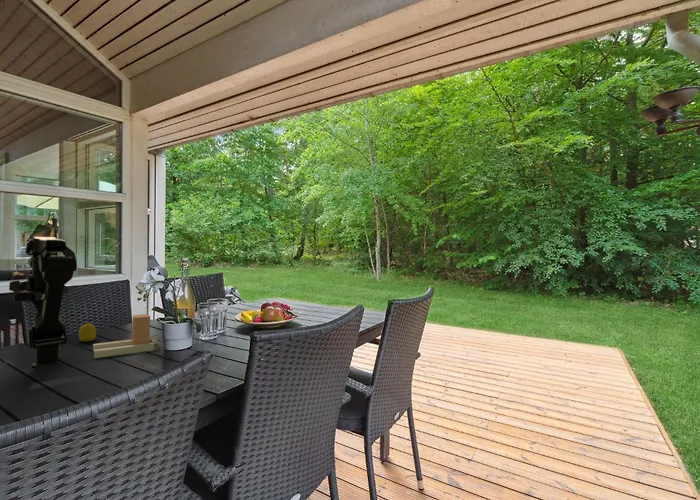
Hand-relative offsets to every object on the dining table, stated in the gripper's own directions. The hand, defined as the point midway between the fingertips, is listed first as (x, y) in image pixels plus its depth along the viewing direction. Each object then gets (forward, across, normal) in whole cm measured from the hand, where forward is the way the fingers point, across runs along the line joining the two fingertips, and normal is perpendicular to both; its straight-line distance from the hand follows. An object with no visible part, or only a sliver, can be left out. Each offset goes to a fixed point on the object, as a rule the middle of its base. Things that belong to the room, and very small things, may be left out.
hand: (42, 317), depth 125 cm
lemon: (+13, -13, +8) cm, 20 cm away
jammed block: (+12, -2, +31) cm, 33 cm away
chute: (+13, 0, +27) cm, 30 cm away
